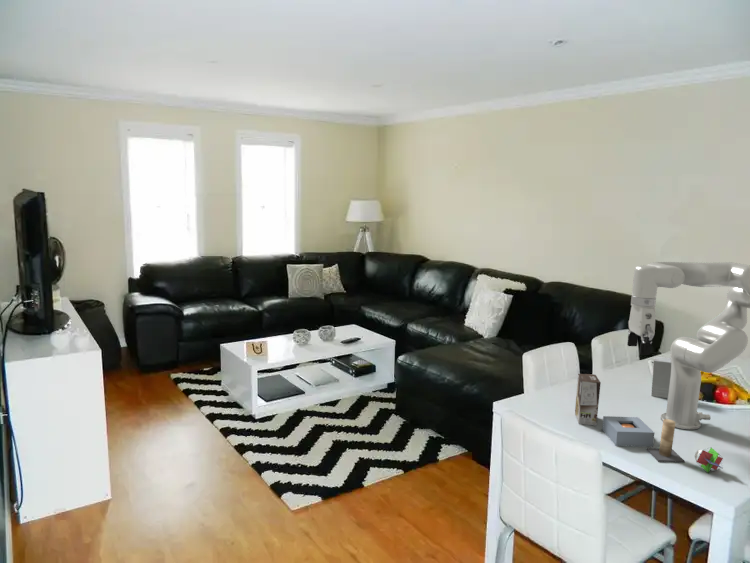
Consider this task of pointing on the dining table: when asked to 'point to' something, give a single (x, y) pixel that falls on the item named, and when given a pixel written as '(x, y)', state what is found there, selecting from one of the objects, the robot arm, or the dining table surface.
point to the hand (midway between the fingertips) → (638, 350)
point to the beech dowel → (667, 437)
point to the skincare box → (661, 377)
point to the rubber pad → (660, 458)
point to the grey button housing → (628, 431)
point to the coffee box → (587, 399)
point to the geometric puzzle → (708, 459)
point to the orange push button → (627, 426)
